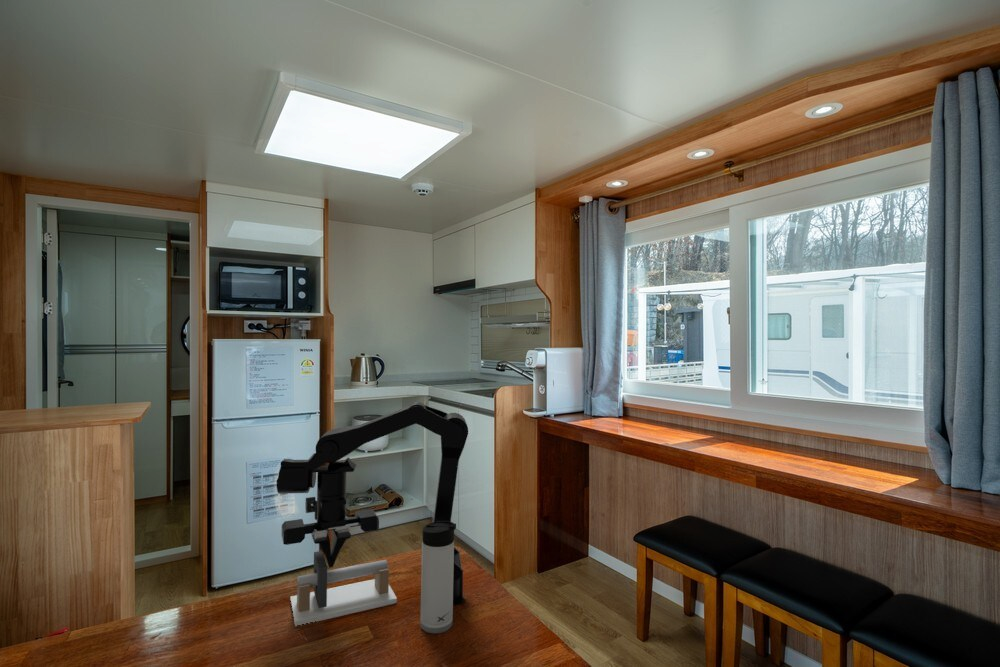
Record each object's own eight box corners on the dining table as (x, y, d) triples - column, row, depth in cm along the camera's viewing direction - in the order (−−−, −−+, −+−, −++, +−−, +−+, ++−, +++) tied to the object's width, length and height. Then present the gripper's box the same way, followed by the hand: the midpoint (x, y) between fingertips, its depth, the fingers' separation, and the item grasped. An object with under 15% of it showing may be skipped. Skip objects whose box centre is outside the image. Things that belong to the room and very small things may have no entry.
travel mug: (448, 636, 97) (450, 531, 97) (415, 631, 98) (417, 528, 98) (457, 618, 103) (460, 519, 103) (426, 613, 105) (428, 516, 104)
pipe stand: (384, 581, 117) (385, 549, 117) (396, 602, 108) (397, 568, 108) (290, 601, 108) (290, 566, 108) (295, 626, 99) (295, 589, 99)
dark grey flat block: (320, 587, 110) (321, 550, 110) (326, 606, 103) (327, 566, 103) (313, 589, 109) (313, 552, 109) (318, 608, 102) (319, 568, 102)
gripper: (368, 476, 118) (367, 543, 118) (280, 486, 109) (278, 558, 110) (380, 490, 108) (378, 564, 108) (284, 503, 100) (283, 582, 100)
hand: (330, 566), depth 107 cm, fingers closed
